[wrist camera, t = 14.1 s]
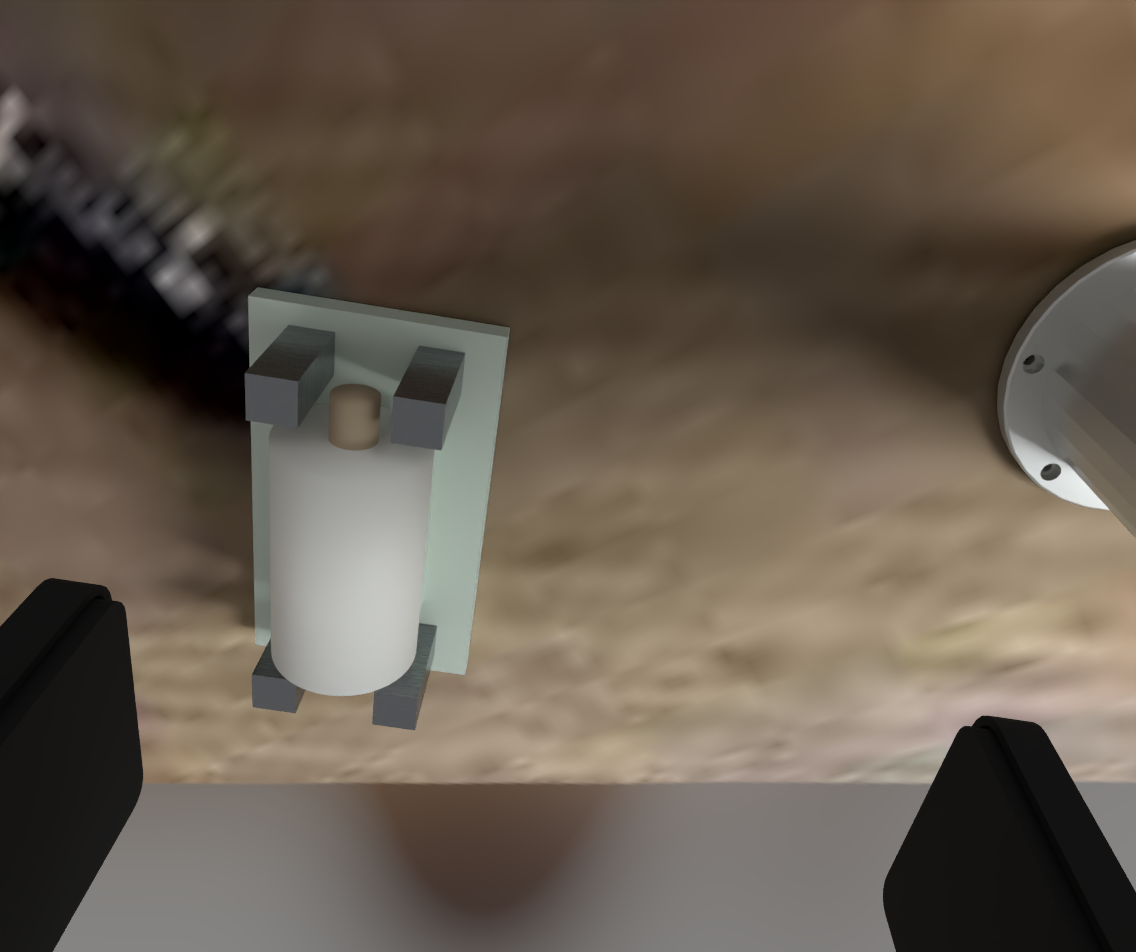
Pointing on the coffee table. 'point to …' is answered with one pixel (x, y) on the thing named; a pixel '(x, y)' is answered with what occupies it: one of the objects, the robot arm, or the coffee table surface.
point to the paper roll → (346, 545)
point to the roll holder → (419, 418)
